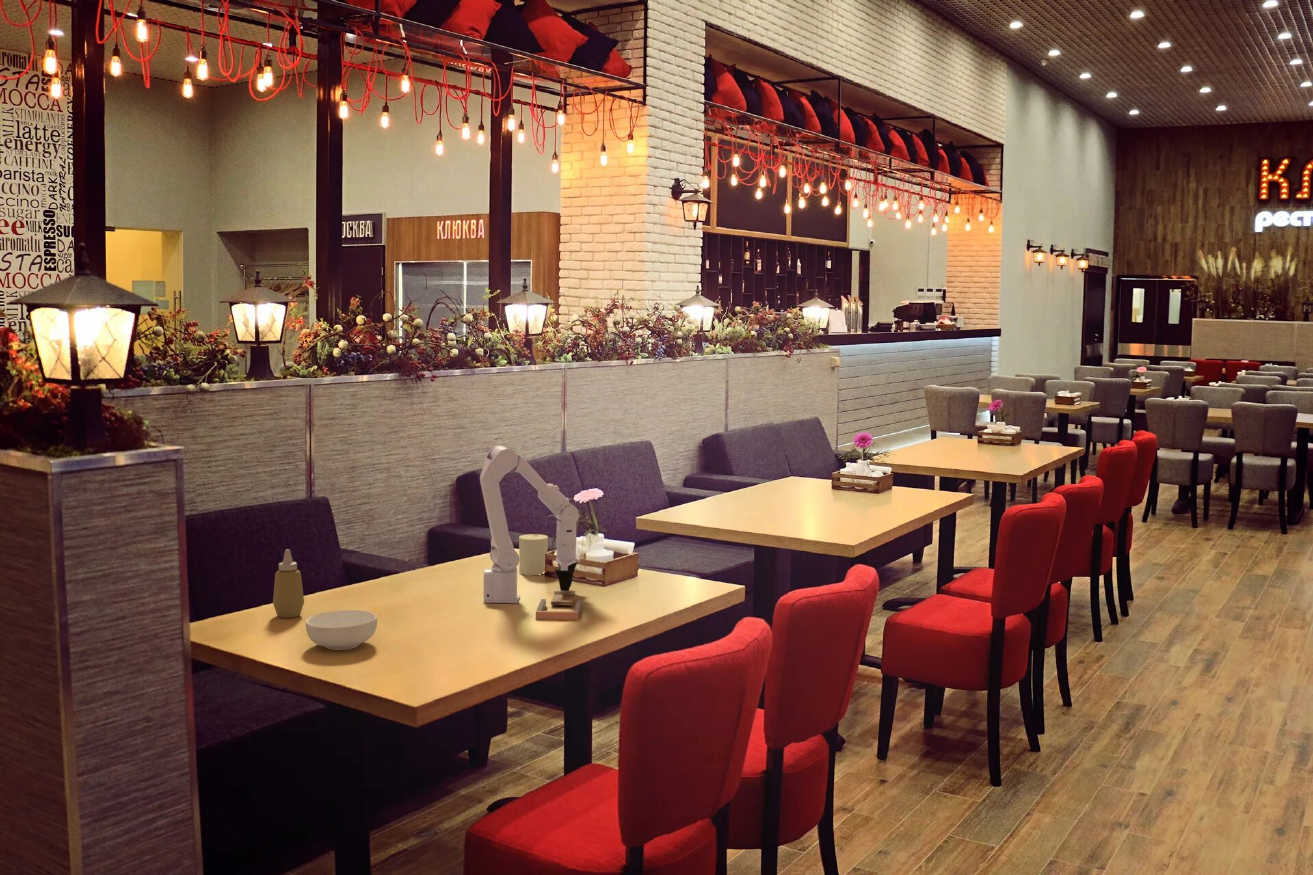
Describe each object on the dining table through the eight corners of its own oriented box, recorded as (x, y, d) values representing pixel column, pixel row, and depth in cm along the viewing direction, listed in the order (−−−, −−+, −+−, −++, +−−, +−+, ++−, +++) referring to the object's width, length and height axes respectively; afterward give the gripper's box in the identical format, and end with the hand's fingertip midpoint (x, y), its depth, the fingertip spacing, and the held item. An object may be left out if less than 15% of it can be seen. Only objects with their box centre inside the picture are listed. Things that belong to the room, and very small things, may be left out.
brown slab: (550, 607, 325) (551, 598, 325) (554, 598, 335) (554, 590, 335) (572, 607, 325) (572, 599, 325) (575, 598, 335) (575, 590, 335)
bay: (535, 618, 312) (535, 611, 312) (541, 605, 326) (541, 598, 326) (578, 619, 312) (578, 612, 312) (582, 606, 326) (582, 599, 326)
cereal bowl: (350, 632, 297) (350, 605, 296) (391, 645, 286) (391, 617, 286) (292, 646, 284) (291, 618, 283) (332, 660, 273) (332, 630, 273)
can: (550, 569, 372) (550, 533, 371) (544, 576, 363) (545, 538, 362) (522, 568, 373) (522, 532, 372) (515, 575, 364) (515, 537, 363)
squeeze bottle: (295, 620, 308) (293, 553, 306) (267, 618, 309) (265, 551, 307) (310, 612, 315) (308, 547, 313) (282, 610, 317) (281, 546, 315)
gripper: (578, 549, 331) (577, 595, 332) (581, 539, 345) (581, 584, 346) (553, 548, 331) (553, 595, 332) (558, 538, 345) (557, 583, 347)
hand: (566, 589), depth 339 cm, fingers open, 7 cm apart
